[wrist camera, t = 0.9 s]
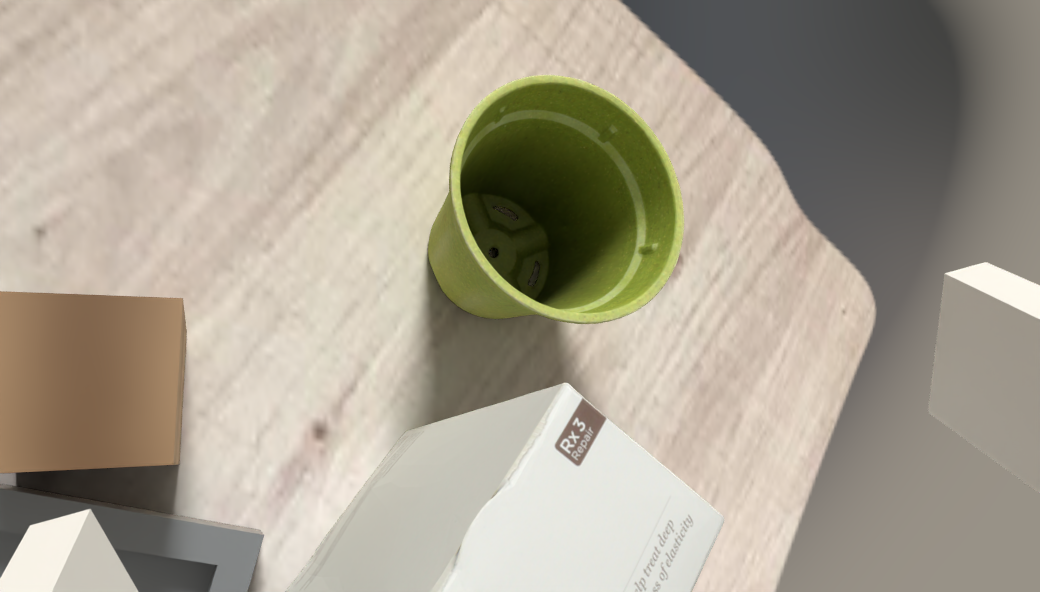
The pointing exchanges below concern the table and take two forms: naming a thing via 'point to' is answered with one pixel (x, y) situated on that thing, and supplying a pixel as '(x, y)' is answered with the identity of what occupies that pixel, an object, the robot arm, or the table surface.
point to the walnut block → (90, 381)
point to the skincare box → (518, 510)
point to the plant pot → (557, 206)
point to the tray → (144, 541)
